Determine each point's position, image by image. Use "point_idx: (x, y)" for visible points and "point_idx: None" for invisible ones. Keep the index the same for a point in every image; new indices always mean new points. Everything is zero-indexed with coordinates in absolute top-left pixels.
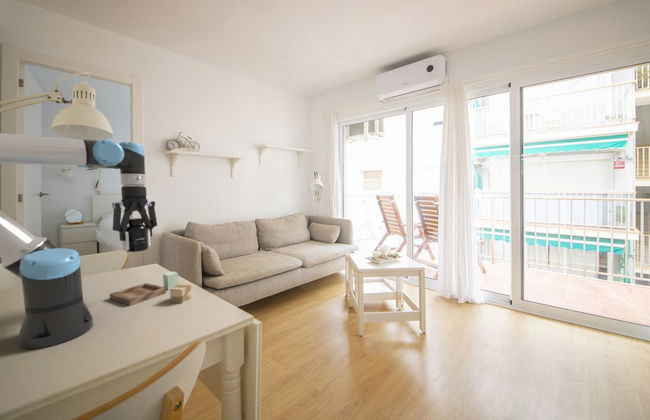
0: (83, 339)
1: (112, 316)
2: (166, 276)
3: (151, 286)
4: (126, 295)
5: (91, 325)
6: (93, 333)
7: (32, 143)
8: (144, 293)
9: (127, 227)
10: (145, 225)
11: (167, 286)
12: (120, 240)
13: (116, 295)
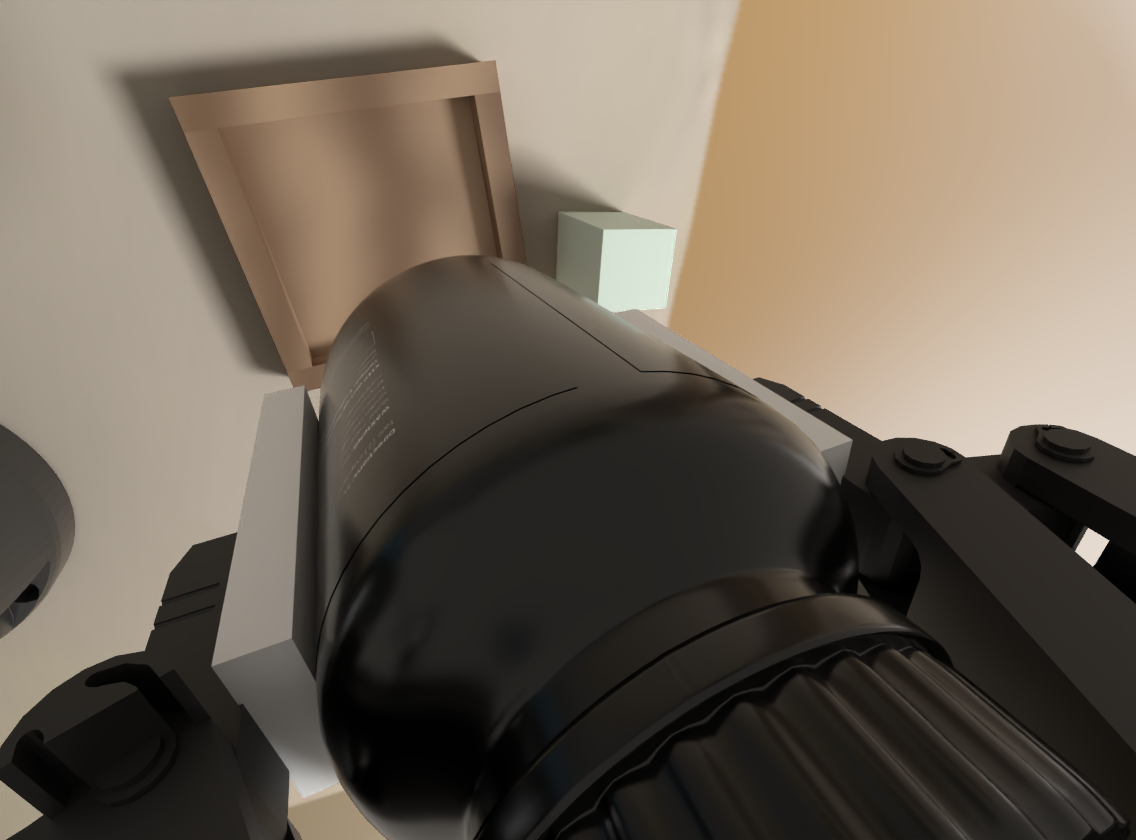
0: (43, 641)
1: (184, 468)
2: (594, 292)
3: (492, 202)
4: (306, 189)
5: (65, 560)
6: (87, 608)
7: None
8: (419, 261)
9: (384, 827)
10: (907, 531)
11: (565, 278)
12: (191, 557)
13: (224, 206)
